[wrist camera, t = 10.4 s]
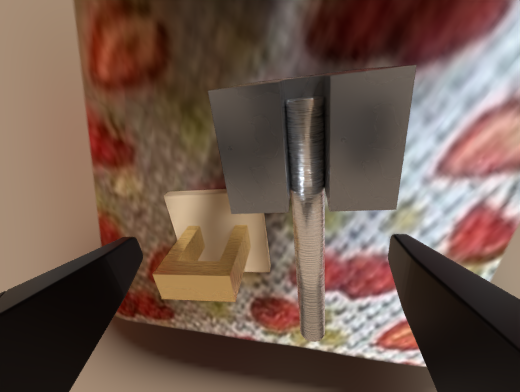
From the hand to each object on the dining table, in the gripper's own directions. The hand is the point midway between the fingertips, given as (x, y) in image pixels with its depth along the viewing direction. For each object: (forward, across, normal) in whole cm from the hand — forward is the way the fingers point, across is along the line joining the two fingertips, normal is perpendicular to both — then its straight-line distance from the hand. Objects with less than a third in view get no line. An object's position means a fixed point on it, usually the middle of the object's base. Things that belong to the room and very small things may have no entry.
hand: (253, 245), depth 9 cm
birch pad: (+13, +6, +8) cm, 17 cm away
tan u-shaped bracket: (+12, +6, +8) cm, 16 cm away
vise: (+13, -2, +4) cm, 14 cm away
